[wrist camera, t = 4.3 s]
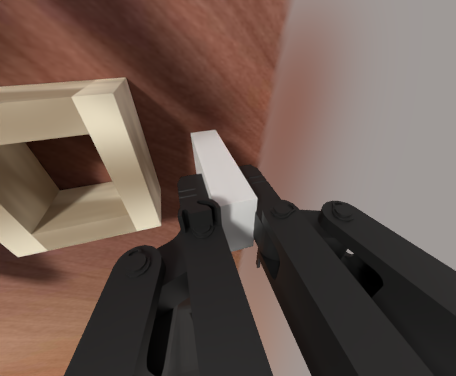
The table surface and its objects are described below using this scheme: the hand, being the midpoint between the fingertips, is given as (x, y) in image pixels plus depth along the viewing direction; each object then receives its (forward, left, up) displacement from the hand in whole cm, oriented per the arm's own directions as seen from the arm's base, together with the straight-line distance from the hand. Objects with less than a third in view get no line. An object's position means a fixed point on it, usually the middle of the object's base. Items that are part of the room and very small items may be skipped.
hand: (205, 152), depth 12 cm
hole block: (0, +8, -2) cm, 8 cm away
